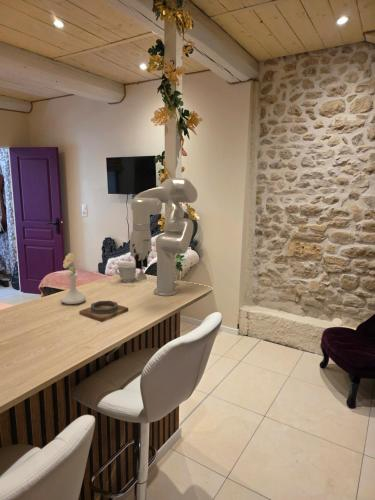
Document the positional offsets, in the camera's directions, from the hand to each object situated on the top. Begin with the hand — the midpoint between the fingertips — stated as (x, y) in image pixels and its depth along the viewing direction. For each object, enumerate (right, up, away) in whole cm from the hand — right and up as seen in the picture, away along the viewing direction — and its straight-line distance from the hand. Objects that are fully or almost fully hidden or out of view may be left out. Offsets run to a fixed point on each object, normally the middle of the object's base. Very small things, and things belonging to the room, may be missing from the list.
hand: (141, 267), depth 151 cm
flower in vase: (-34, -18, +9) cm, 39 cm away
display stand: (-16, -20, -2) cm, 26 cm away
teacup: (-16, -11, +47) cm, 51 cm away
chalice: (0, -5, +1) cm, 5 cm away
